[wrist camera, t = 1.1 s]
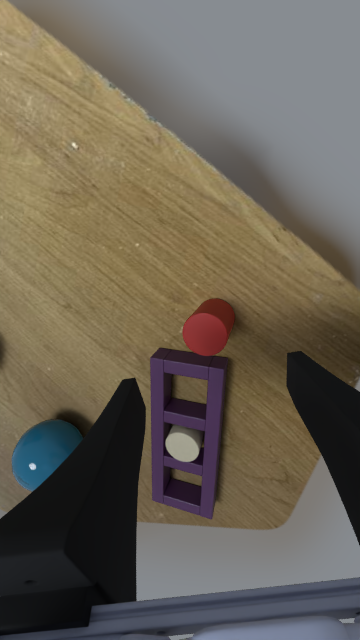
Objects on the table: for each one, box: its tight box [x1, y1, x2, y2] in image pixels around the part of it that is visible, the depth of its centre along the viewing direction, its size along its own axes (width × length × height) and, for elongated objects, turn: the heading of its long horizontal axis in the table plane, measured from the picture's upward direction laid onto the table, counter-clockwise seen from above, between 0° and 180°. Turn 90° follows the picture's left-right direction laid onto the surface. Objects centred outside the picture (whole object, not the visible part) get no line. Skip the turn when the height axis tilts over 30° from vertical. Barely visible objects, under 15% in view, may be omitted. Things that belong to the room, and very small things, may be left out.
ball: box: [12, 419, 83, 492], centre depth 33 cm, size 8×8×8 cm
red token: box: [183, 299, 235, 356], centre depth 23 cm, size 4×4×5 cm
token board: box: [150, 348, 228, 519], centre depth 29 cm, size 7×19×2 cm, turn 179°
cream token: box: [166, 424, 205, 462], centre depth 29 cm, size 4×4×3 cm
